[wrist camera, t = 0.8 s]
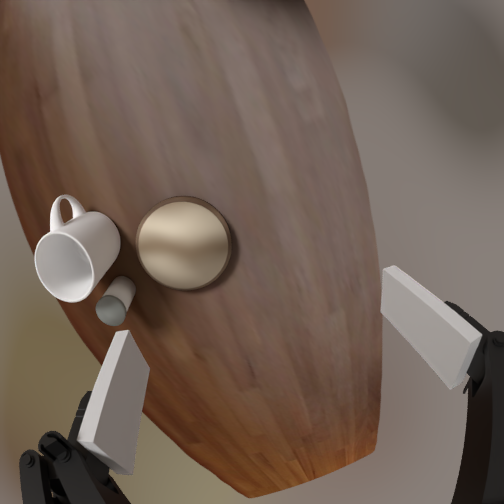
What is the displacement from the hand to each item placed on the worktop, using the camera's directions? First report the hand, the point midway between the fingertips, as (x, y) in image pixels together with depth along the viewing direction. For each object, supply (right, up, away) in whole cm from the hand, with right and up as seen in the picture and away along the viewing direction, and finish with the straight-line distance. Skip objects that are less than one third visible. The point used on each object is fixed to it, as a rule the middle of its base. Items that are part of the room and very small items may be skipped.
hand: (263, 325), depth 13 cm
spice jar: (-20, -2, +25) cm, 32 cm away
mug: (-23, +7, +21) cm, 32 cm away
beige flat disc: (-10, +5, +24) cm, 26 cm away
